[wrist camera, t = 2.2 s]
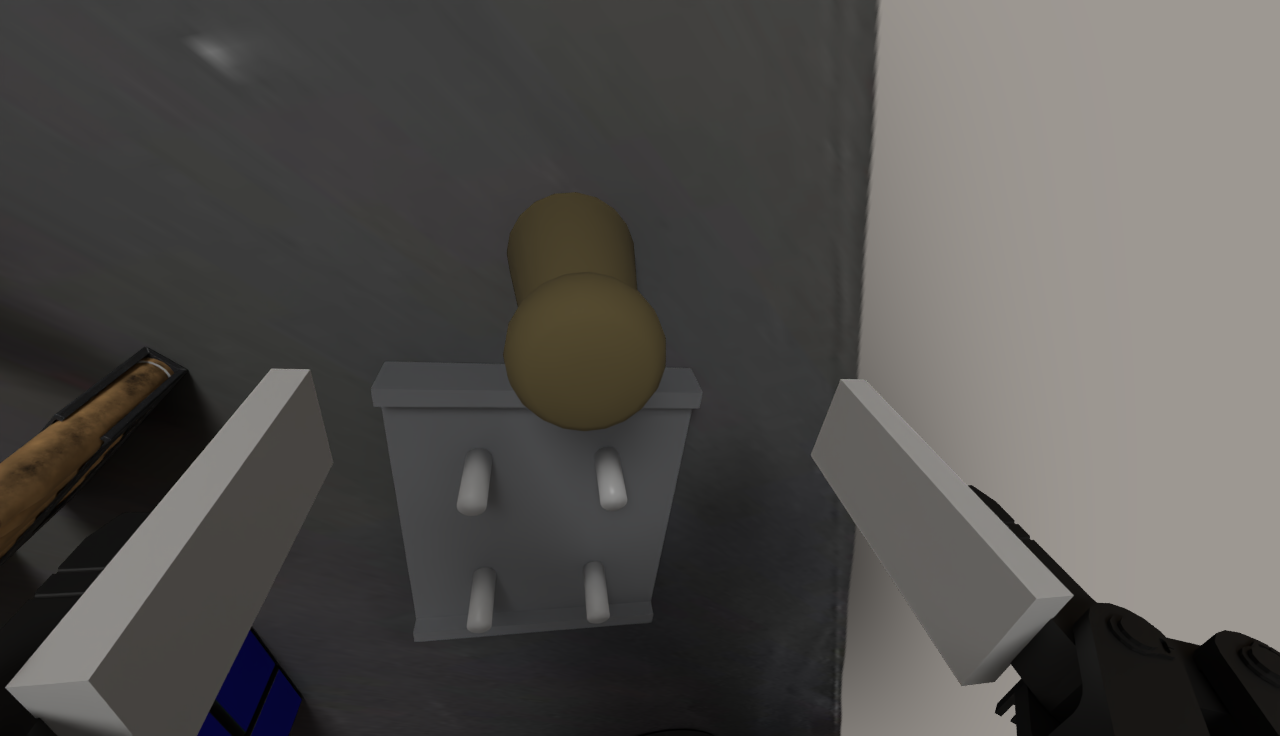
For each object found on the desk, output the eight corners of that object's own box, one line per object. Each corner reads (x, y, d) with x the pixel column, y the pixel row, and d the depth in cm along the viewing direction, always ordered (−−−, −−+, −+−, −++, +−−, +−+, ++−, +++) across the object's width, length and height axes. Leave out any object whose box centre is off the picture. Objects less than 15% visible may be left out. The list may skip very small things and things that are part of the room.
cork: (529, 327, 26) (522, 479, 17) (488, 209, 23) (451, 317, 13) (644, 298, 26) (701, 433, 17) (620, 178, 23) (674, 263, 14)
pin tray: (645, 591, 39) (658, 657, 35) (422, 607, 36) (406, 681, 31) (690, 368, 29) (716, 421, 24) (384, 361, 25) (353, 422, 21)
